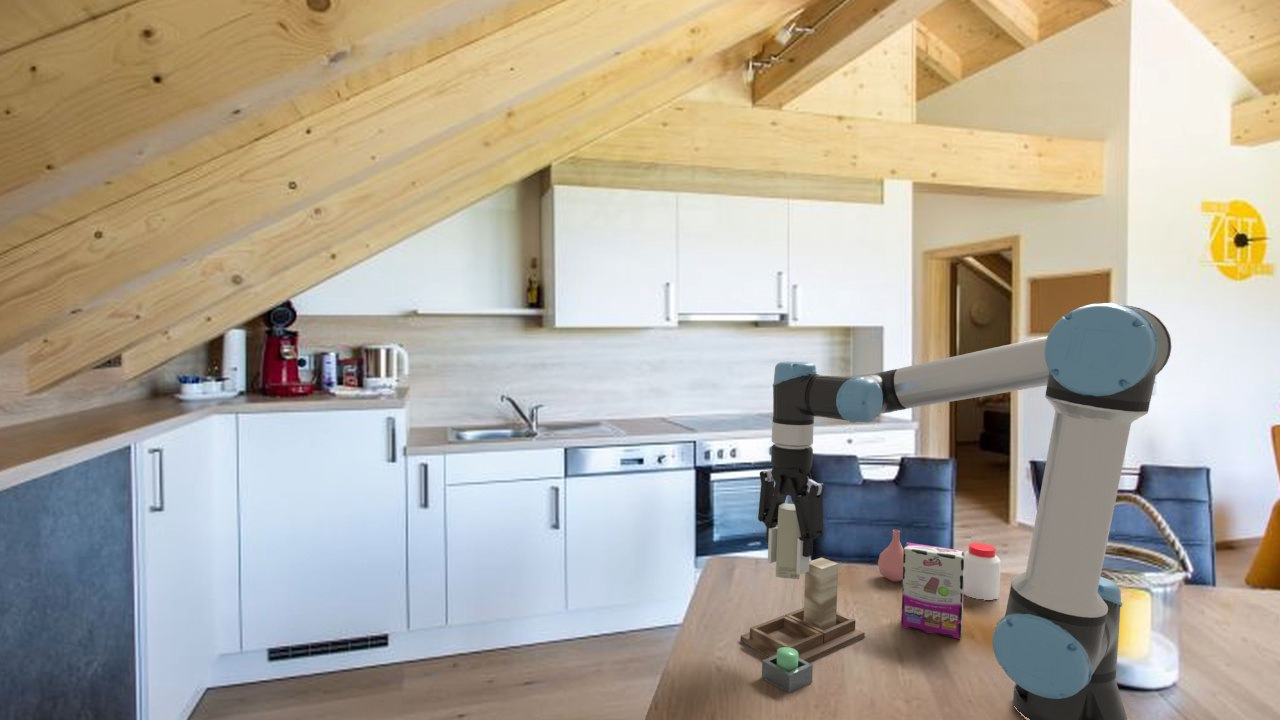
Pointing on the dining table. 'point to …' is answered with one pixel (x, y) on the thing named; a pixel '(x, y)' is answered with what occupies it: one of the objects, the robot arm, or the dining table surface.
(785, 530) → the box
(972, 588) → the pill bottle
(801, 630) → the tray
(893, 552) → the perfume bottle
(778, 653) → the button
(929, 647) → the dining table surface
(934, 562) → the candy bar box
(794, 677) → the grey square tray
